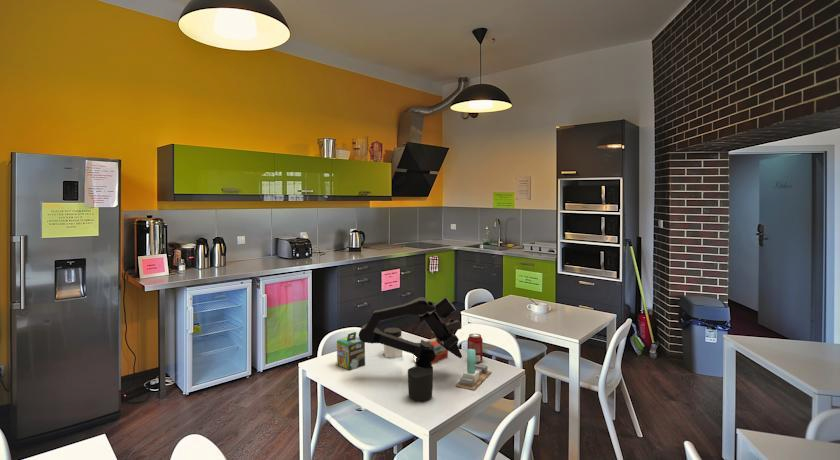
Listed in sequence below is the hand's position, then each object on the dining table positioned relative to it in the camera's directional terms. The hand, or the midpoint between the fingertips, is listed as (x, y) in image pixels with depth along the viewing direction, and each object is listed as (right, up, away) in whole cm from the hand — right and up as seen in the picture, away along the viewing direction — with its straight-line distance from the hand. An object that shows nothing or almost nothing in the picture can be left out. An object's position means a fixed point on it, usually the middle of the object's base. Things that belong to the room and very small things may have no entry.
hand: (458, 355), depth 181 cm
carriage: (+5, -10, -2) cm, 11 cm away
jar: (-28, -8, +29) cm, 42 cm away
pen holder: (-15, -11, -16) cm, 25 cm away
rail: (+6, -10, +1) cm, 12 cm away
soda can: (+9, -9, +21) cm, 25 cm away
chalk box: (-46, -9, +16) cm, 50 cm away
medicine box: (-11, -9, +23) cm, 27 cm away
